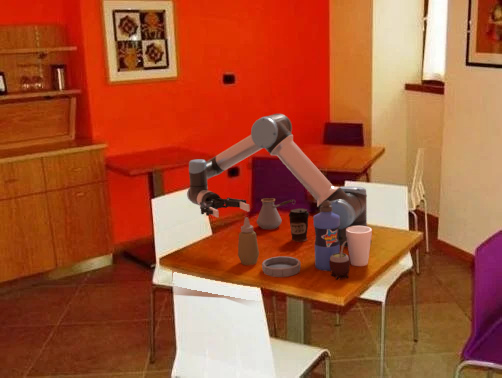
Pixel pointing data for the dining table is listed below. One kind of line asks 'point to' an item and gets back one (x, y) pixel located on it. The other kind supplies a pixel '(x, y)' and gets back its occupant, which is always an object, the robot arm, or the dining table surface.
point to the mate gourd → (339, 264)
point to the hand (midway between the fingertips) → (233, 211)
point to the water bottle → (326, 236)
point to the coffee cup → (299, 224)
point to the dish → (281, 266)
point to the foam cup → (359, 244)
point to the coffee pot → (270, 214)
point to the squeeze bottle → (247, 244)
